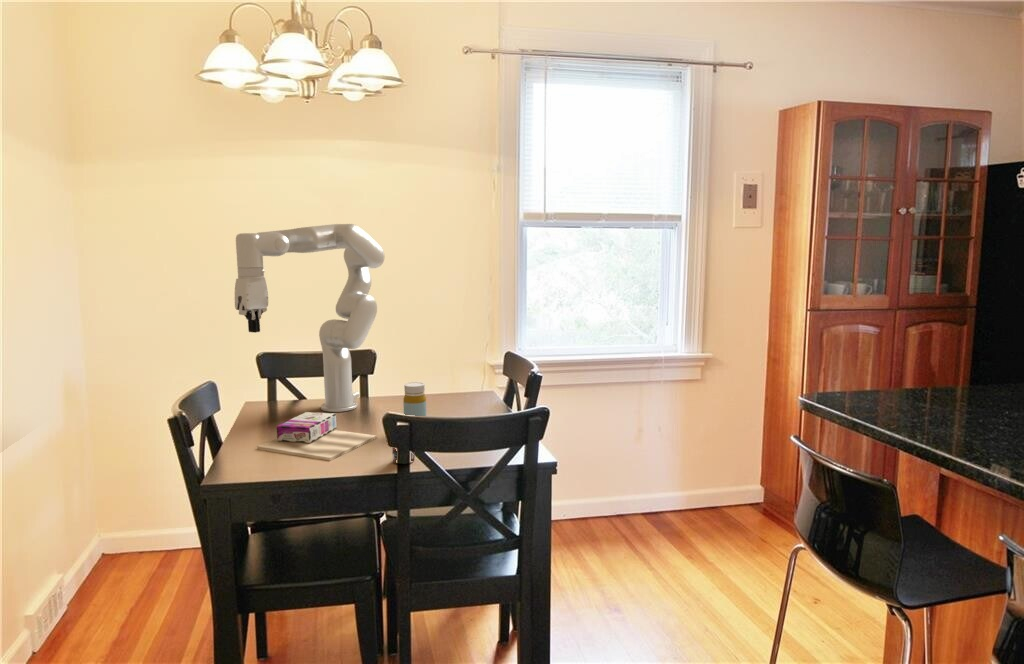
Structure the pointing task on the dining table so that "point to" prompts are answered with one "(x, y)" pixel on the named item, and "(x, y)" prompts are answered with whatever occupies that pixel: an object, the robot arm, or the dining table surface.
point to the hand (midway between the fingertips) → (254, 331)
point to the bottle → (414, 399)
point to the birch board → (321, 445)
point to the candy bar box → (306, 427)
